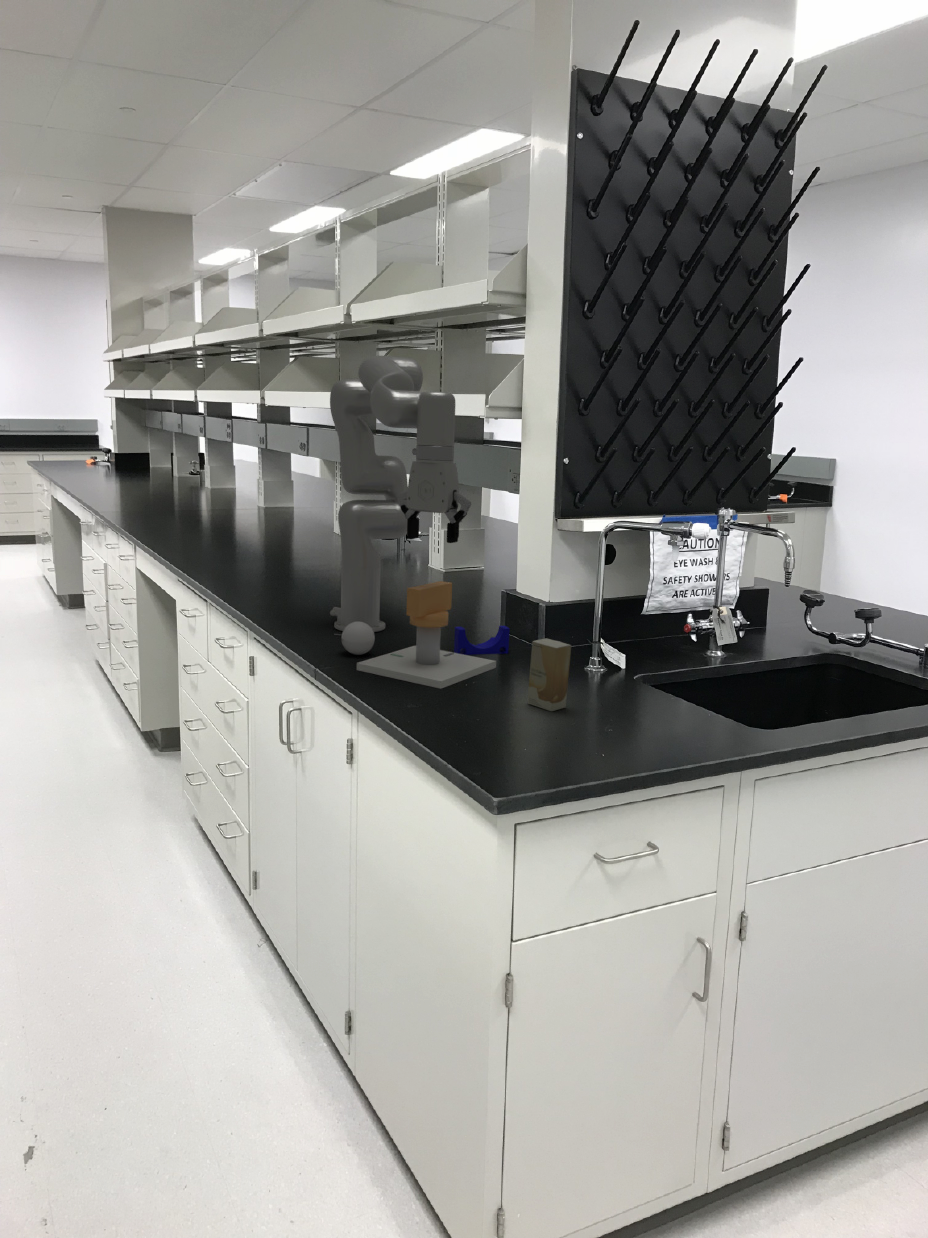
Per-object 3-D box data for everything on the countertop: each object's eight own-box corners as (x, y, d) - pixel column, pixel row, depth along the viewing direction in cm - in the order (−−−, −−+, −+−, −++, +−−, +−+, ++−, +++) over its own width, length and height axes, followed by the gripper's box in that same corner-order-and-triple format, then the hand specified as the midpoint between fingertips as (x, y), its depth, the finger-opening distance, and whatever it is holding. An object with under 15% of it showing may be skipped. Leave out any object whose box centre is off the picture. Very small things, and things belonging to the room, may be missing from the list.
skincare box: (526, 704, 175) (529, 640, 173) (541, 700, 178) (545, 637, 176) (552, 712, 171) (556, 647, 168) (567, 708, 174) (572, 644, 171)
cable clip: (501, 649, 217) (503, 624, 216) (508, 654, 213) (509, 628, 212) (452, 650, 214) (453, 625, 213) (457, 655, 210) (458, 629, 209)
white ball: (381, 653, 208) (382, 621, 206) (361, 660, 202) (361, 626, 200) (345, 646, 213) (345, 615, 211) (324, 653, 206) (325, 620, 205)
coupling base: (356, 670, 194) (357, 623, 192) (415, 651, 211) (417, 609, 209) (440, 688, 183) (442, 639, 181) (495, 667, 200) (498, 622, 198)
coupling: (428, 630, 188) (429, 591, 186) (396, 625, 192) (397, 586, 190) (460, 621, 198) (462, 584, 196) (429, 616, 202) (430, 579, 200)
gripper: (389, 453, 189) (387, 537, 192) (461, 457, 180) (457, 545, 183) (410, 453, 195) (408, 535, 199) (481, 457, 186) (478, 542, 190)
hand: (432, 540), depth 191 cm, fingers open, 9 cm apart
